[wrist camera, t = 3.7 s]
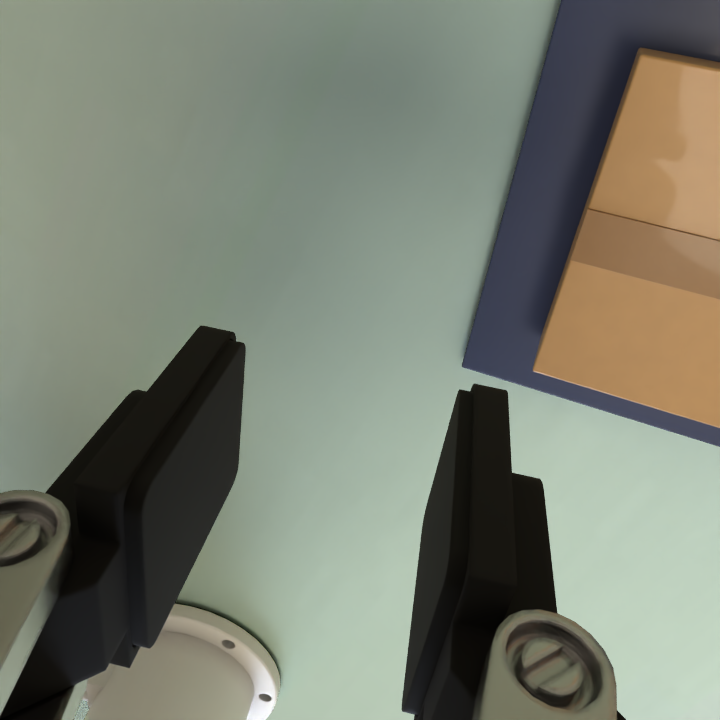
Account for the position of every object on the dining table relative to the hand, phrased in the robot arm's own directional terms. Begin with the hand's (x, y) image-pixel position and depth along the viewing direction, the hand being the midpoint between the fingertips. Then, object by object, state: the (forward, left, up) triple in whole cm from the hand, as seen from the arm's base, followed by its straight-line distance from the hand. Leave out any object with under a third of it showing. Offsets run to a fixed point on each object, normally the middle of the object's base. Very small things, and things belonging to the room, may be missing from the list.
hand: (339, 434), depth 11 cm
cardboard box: (+10, 0, -15) cm, 18 cm away
